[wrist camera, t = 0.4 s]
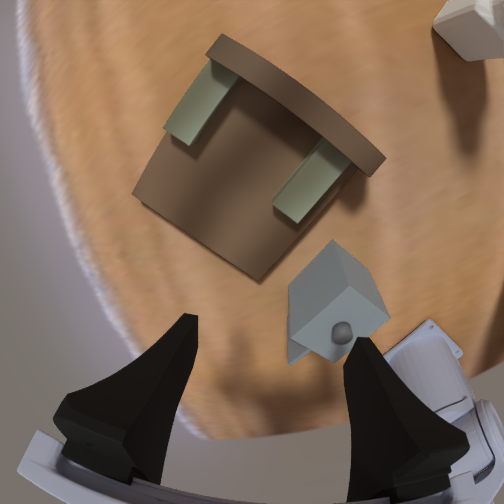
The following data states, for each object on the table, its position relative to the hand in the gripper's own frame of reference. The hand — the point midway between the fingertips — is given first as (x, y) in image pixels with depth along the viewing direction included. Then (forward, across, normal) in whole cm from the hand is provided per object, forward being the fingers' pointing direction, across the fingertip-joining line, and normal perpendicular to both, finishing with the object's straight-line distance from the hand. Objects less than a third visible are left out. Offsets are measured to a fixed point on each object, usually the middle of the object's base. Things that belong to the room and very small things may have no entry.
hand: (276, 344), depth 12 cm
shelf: (+10, +3, -6) cm, 12 cm away
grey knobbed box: (+10, -4, +3) cm, 11 cm away
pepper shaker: (+10, -11, -20) cm, 25 cm away
